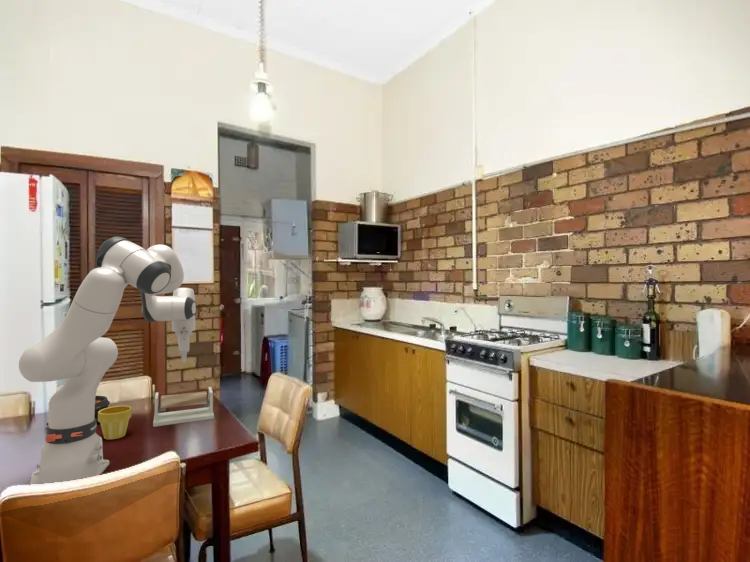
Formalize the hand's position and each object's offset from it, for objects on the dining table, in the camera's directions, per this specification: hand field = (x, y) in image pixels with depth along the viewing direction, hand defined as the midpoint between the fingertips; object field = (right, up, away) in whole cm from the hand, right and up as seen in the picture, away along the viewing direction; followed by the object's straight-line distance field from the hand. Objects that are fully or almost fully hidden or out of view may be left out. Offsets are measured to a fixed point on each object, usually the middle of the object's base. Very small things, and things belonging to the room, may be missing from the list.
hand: (183, 360), depth 168 cm
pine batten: (0, -18, 0) cm, 18 cm away
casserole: (-38, -24, -4) cm, 45 cm away
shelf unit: (0, -24, 0) cm, 24 cm away
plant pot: (-15, -24, -20) cm, 35 cm away
